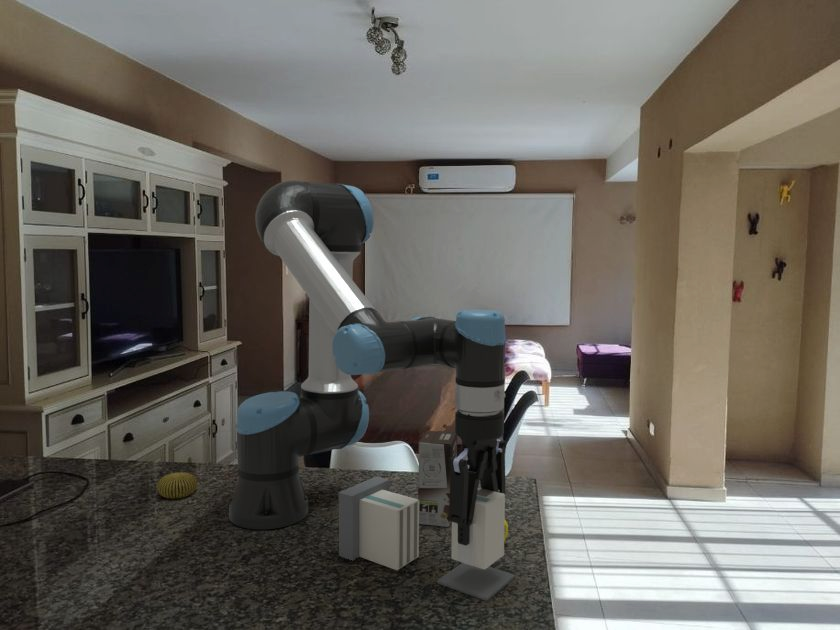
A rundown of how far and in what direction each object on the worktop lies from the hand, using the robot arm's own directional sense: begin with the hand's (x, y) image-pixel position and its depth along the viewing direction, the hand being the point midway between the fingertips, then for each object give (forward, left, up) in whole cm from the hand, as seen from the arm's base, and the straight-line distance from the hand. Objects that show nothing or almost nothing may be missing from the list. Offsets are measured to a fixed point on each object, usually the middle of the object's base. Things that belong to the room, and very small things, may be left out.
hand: (477, 554), depth 104 cm
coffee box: (-19, +17, -5) cm, 26 cm away
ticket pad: (-18, -2, -4) cm, 19 cm away
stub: (0, 0, 0) cm, 0 cm away
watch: (-5, +13, -5) cm, 15 cm away
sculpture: (-70, -6, -5) cm, 70 cm away
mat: (0, 0, -4) cm, 4 cm away
